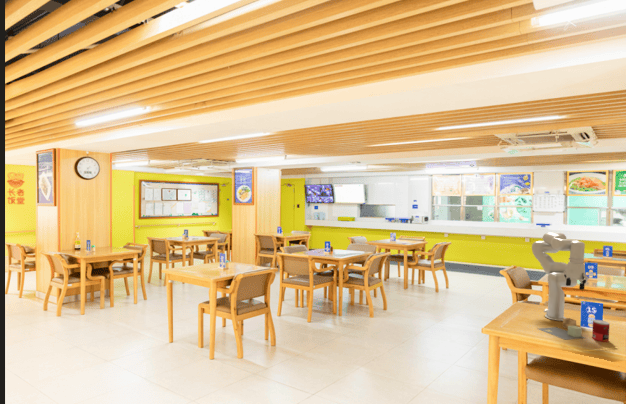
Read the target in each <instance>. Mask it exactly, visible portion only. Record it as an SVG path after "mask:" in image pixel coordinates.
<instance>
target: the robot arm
mask: <svg viewBox="0 0 626 404" xmlns="http://www.w3.org/2000/svg"><path fill="white" fill-rule="evenodd" d="M585 247H586V243H585V242H583V241H579V240H578V239H567V236H566V234H564V233H562V232H546V233H544V234H543V235H542V240H538V241H534V242H533V243H532V244H531V251H532V254H533V256H534V257H535V259H536V260H537V261H538V262H539V263H540V266H541V267H542V269H543V271H544V273H545V274H546V275H547V284H548V297H547V299H548V301H547V302H548V304H547V308H545V309H544V310H543V312H544V313H545V315H544V316H545V318H547V319H549V320H552V321H558V322H563V318H566V317H565V296H566V295H565V291H564V290H563V288H574V287H576V286H577V285H578V281H579V282H580V283H579V287H578V289H579V290H580V291H581V290H585V284H587V282H588V281H589V278H590V277H589V276H588V275H587V274H586V268H585V263H584V262H585ZM559 251H561V252H569V258H568V260H569V261H568V263H566V262H561V261H560V262H559V261H554V259H553V257H552V256H551V255H549V254H557V253H558V252H559ZM547 253H548V254H547Z"/></svg>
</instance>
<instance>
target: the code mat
mask: <svg viewBox="0 0 626 404" xmlns="http://www.w3.org/2000/svg"><path fill="white" fill-rule="evenodd" d="M538 331H541V332H544V333H546V334H549V335H552V336H554V337H557V338H559V339H562V340H564V341H569V340H579V339H586V337H585V336H582V337H573V336H571V335H568V330H566V329H563V328H560V327H558V326H555V327H554V326H553V327H542V328H541V327H539V328H538Z"/></svg>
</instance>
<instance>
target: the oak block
mask: <svg viewBox="0 0 626 404" xmlns="http://www.w3.org/2000/svg"><path fill="white" fill-rule="evenodd" d="M568 326H577V320H576V319H574V318H570V317H565V318H563V321H562V327H563V328H565V329H567V330H568Z"/></svg>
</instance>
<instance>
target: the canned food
mask: <svg viewBox="0 0 626 404" xmlns="http://www.w3.org/2000/svg"><path fill="white" fill-rule="evenodd" d="M591 335H592V337H591V338H592V339H593V340H594V341H597V342H600V343H601V342H602V343H608V342H610V341H609V340H610V322H608V321H606V320H603V319H602V320H601V319H593V320H592V334H591Z"/></svg>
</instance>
